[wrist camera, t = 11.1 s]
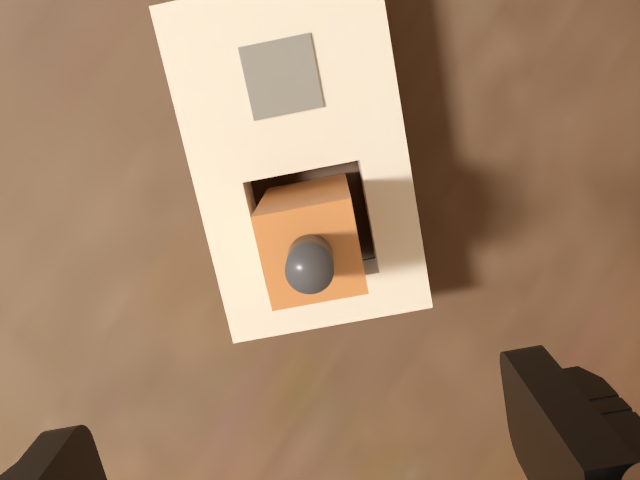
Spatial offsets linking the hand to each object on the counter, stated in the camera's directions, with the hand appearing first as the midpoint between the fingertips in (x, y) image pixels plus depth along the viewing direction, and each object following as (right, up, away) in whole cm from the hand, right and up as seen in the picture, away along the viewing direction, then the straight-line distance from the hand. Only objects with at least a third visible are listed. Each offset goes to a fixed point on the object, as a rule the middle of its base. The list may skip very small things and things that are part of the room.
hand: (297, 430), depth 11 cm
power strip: (-1, +8, +18) cm, 20 cm away
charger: (0, +5, +19) cm, 20 cm away
